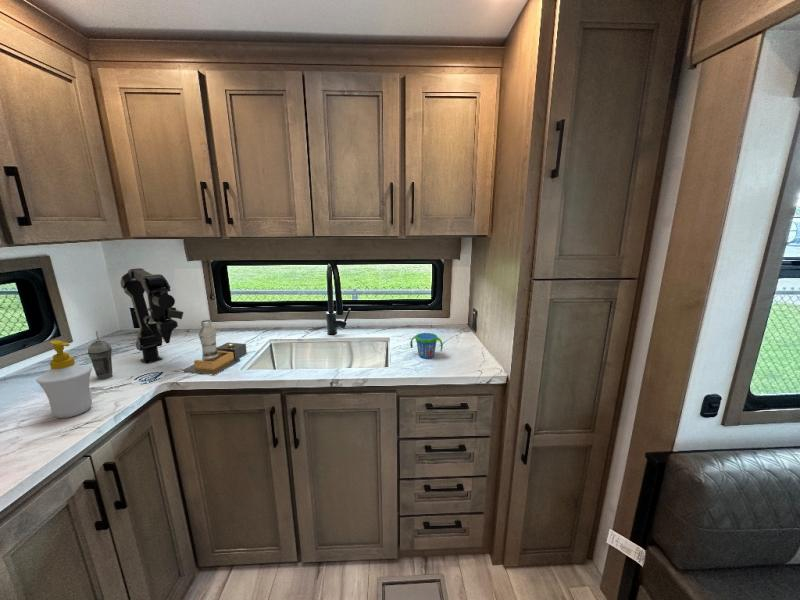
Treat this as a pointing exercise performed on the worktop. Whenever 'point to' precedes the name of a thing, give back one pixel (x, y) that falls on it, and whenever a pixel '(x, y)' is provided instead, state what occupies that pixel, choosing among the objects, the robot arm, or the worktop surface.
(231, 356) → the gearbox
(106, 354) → the beverage cup
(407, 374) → the worktop surface
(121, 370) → the worktop surface
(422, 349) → the snack cup
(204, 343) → the plastic bottle
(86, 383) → the soap bottle
